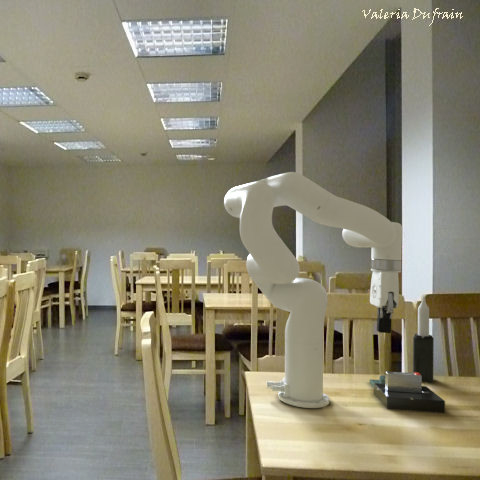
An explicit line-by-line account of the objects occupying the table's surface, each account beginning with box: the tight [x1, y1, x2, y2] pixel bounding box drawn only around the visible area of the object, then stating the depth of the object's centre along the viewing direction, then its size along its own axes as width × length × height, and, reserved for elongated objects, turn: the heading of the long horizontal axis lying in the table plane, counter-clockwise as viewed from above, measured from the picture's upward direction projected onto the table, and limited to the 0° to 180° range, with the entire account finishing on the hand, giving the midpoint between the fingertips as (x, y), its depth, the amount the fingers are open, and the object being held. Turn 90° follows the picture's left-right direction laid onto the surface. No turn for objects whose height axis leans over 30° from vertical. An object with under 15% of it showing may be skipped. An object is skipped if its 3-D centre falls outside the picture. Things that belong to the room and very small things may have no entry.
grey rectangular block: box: [384, 371, 423, 393], centre depth 113 cm, size 8×2×5 cm, turn 80°
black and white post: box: [412, 296, 435, 384], centre depth 133 cm, size 5×5×25 cm
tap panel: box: [373, 383, 446, 414], centre depth 113 cm, size 14×12×3 cm
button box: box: [369, 374, 385, 388], centre depth 124 cm, size 10×8×3 cm
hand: (383, 332), depth 123 cm, fingers closed
